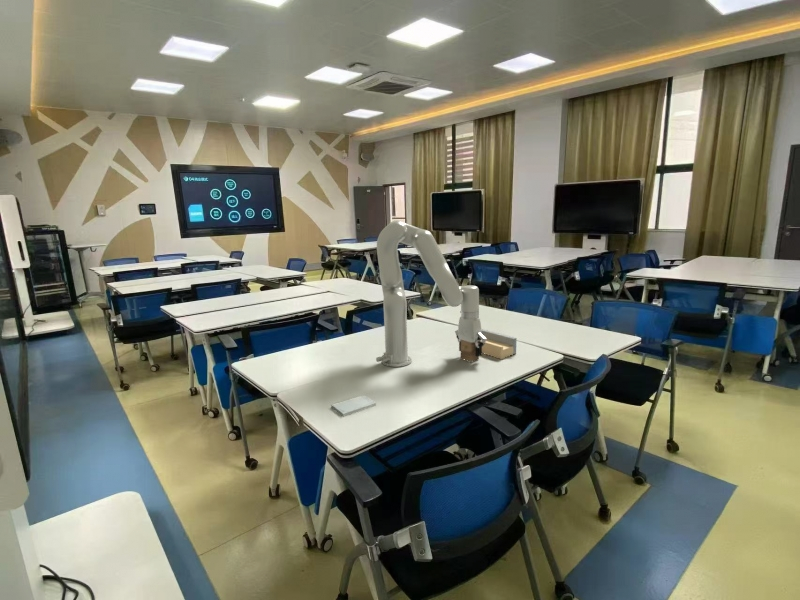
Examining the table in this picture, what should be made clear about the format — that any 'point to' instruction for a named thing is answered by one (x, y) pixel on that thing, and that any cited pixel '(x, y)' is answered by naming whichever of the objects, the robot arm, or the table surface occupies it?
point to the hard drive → (353, 405)
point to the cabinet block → (468, 351)
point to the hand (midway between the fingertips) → (470, 353)
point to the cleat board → (498, 344)
